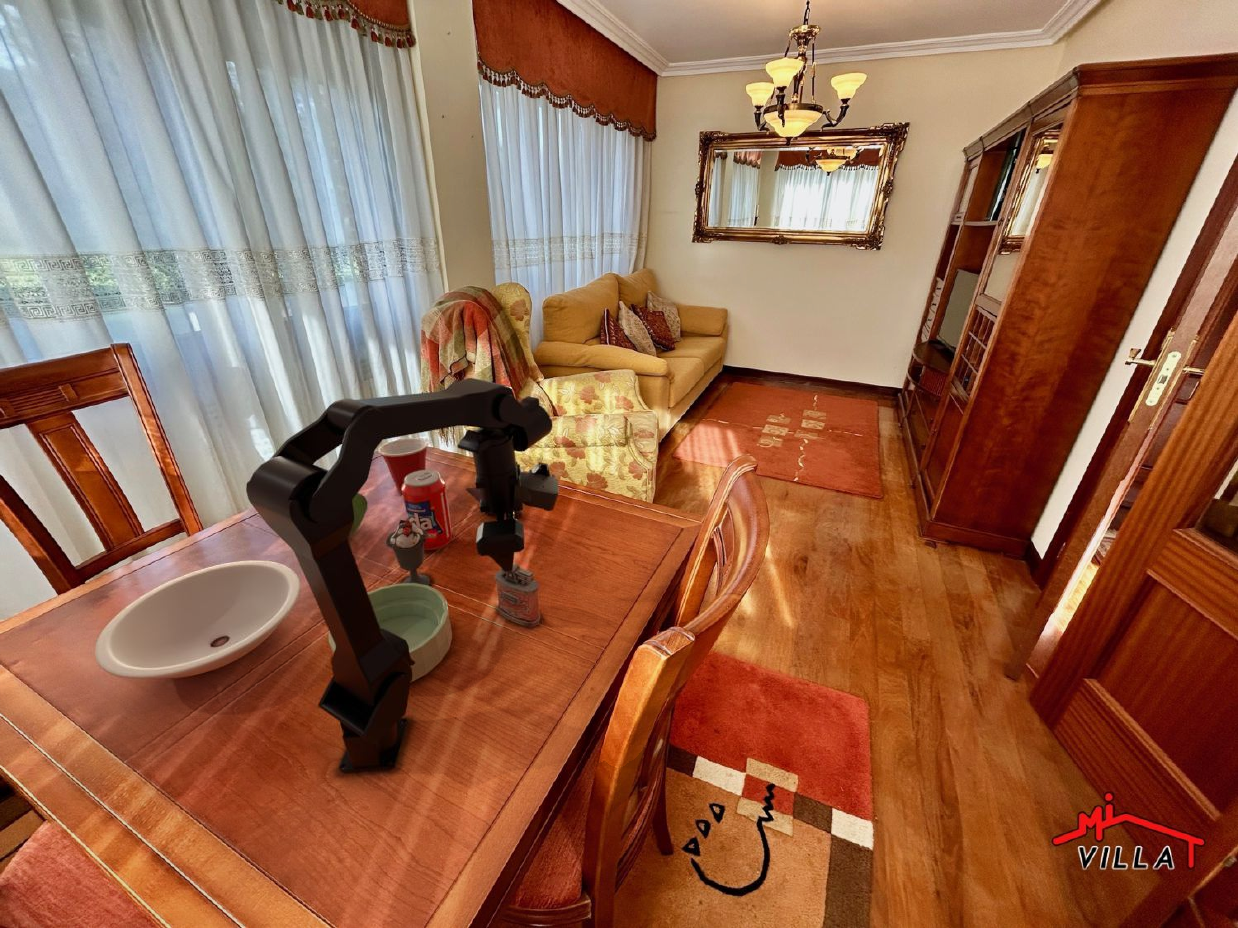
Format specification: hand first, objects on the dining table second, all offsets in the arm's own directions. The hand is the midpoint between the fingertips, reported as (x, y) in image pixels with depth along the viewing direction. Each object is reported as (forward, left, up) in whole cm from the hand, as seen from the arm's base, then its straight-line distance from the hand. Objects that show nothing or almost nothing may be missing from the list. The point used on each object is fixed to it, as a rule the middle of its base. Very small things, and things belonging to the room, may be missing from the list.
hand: (509, 550), depth 79 cm
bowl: (-7, +17, -13) cm, 23 cm away
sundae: (+8, +18, -13) cm, 24 cm away
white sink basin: (-4, +44, -13) cm, 46 cm away
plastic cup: (+43, +28, -13) cm, 53 cm away
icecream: (+32, +7, -13) cm, 36 cm away
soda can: (+21, +18, -13) cm, 31 cm away
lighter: (-1, -1, -13) cm, 13 cm away
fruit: (+24, +37, -13) cm, 46 cm away
